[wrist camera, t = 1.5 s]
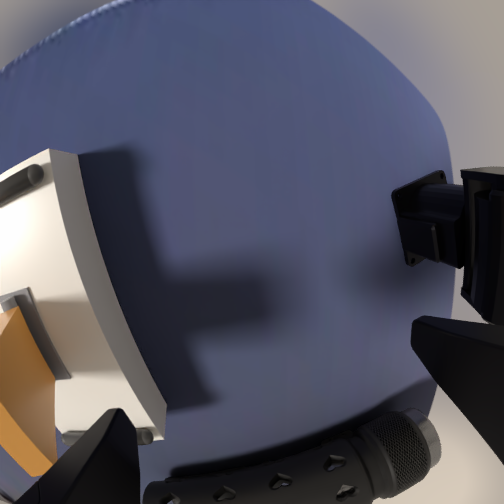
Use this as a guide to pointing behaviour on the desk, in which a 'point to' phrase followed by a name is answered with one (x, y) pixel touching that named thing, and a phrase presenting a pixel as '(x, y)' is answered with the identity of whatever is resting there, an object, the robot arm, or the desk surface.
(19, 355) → the lever
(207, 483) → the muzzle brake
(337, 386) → the desk surface
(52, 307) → the block
